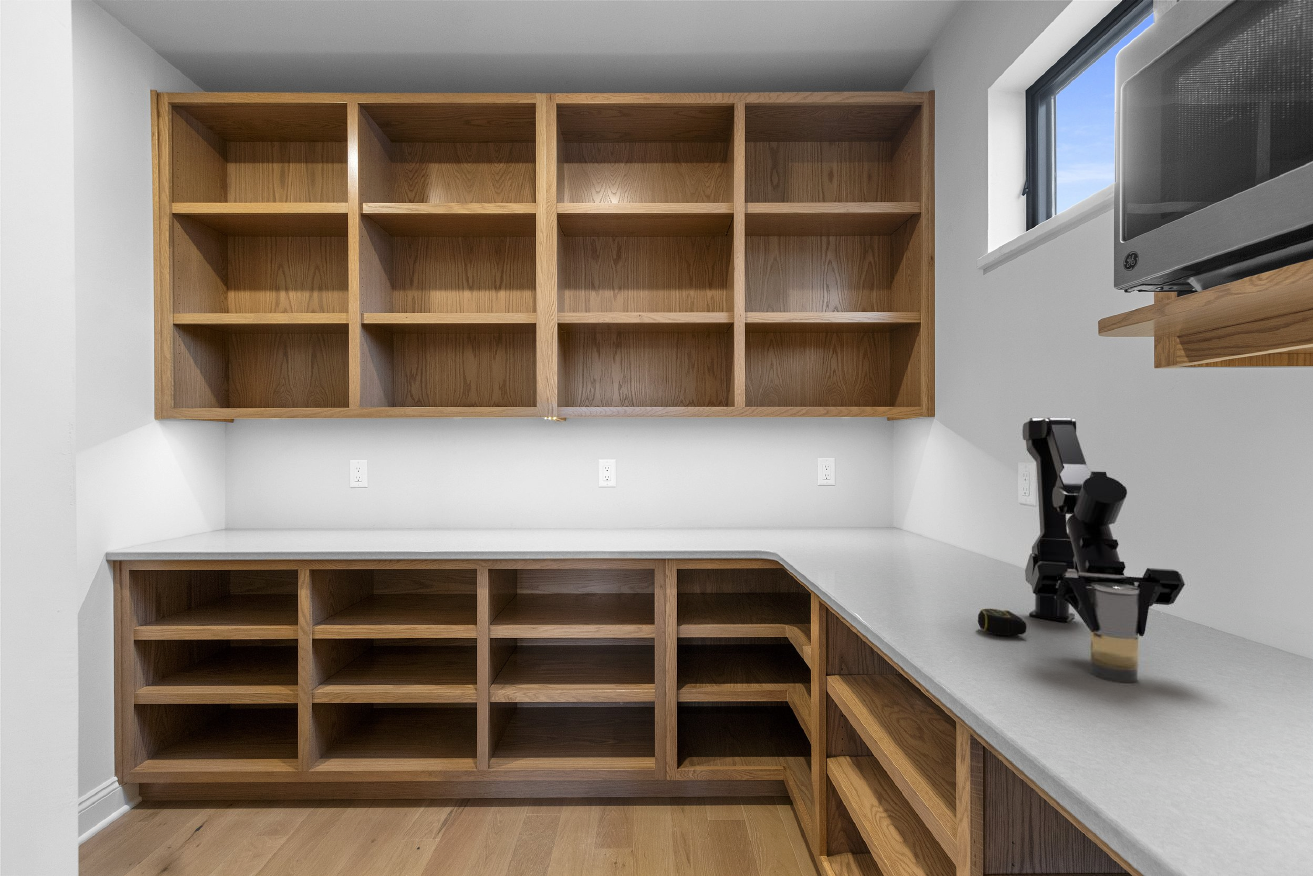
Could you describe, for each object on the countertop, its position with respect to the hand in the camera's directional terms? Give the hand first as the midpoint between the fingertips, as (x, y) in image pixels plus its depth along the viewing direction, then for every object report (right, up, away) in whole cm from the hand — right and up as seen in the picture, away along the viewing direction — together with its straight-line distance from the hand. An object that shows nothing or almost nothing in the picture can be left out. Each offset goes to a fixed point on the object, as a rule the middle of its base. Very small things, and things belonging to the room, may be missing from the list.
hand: (1117, 632), depth 95 cm
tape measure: (-5, -7, +22) cm, 24 cm away
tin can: (0, -7, +1) cm, 7 cm away
